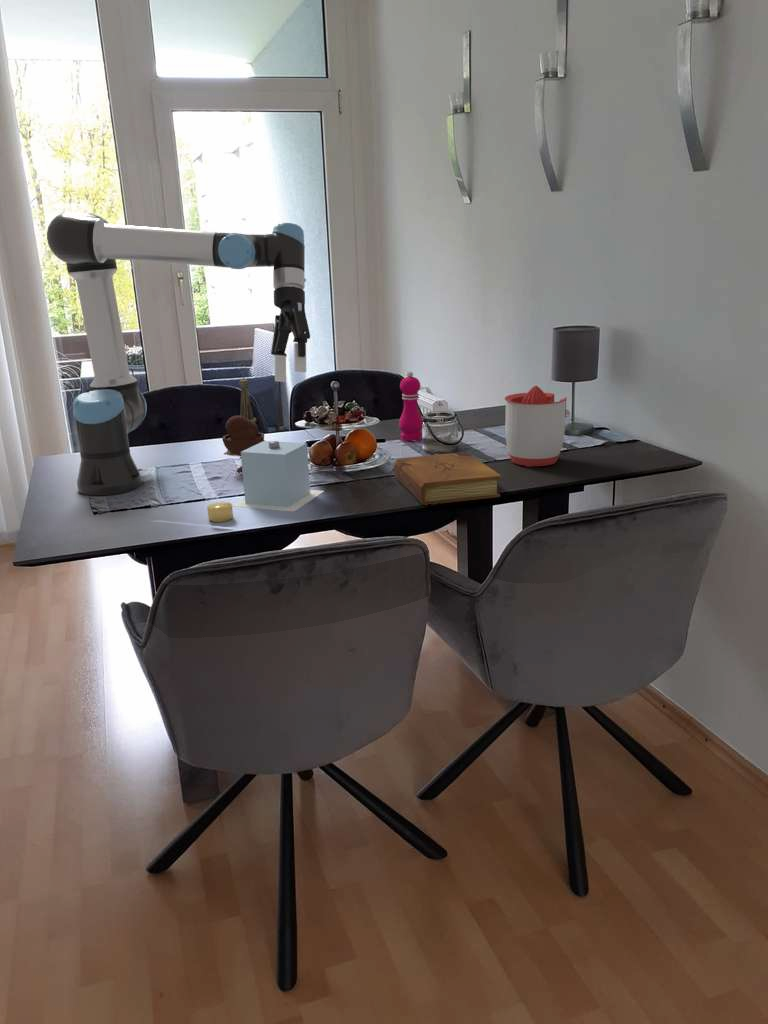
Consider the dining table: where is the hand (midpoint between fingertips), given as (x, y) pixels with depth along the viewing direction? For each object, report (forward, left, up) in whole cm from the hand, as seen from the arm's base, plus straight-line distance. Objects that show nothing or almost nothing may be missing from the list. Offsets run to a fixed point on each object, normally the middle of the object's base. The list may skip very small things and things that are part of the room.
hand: (290, 376), depth 196 cm
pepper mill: (-12, +48, -26) cm, 56 cm away
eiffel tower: (-33, +5, -26) cm, 42 cm away
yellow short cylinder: (+16, -31, -26) cm, 43 cm away
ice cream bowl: (-16, -6, -26) cm, 31 cm away
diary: (+32, +20, -26) cm, 47 cm away
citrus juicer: (+32, +53, -26) cm, 68 cm away
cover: (+12, -14, -25) cm, 31 cm away
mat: (+12, -14, -25) cm, 31 cm away
